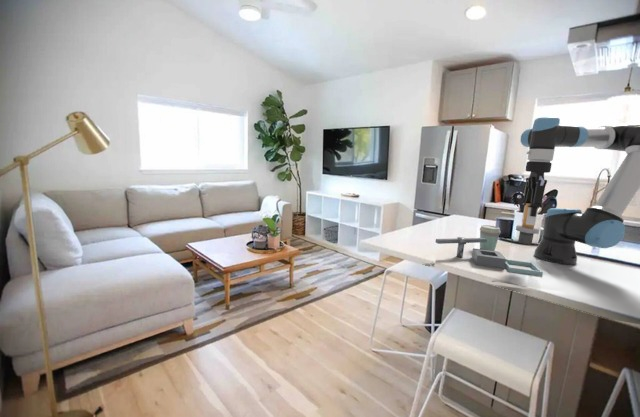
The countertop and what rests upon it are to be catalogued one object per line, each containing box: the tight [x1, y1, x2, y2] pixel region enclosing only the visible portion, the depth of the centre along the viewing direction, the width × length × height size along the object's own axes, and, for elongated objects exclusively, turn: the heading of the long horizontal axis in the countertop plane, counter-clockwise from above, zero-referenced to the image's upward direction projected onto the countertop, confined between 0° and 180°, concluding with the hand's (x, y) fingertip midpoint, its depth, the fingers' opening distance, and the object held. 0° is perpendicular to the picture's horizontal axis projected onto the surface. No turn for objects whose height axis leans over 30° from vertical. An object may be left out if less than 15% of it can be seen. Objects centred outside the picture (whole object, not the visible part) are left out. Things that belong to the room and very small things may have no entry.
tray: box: [505, 258, 544, 277], centre depth 117 cm, size 11×11×2 cm
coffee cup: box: [479, 224, 501, 251], centre depth 140 cm, size 9×8×12 cm
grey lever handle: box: [435, 236, 487, 259], centre depth 127 cm, size 24×4×9 cm, turn 104°
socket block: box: [471, 247, 507, 270], centre depth 123 cm, size 18×11×5 cm, turn 72°
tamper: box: [515, 203, 540, 245], centre depth 114 cm, size 7×7×15 cm
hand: (528, 223), depth 114 cm, fingers closed on tamper, 4 cm apart
